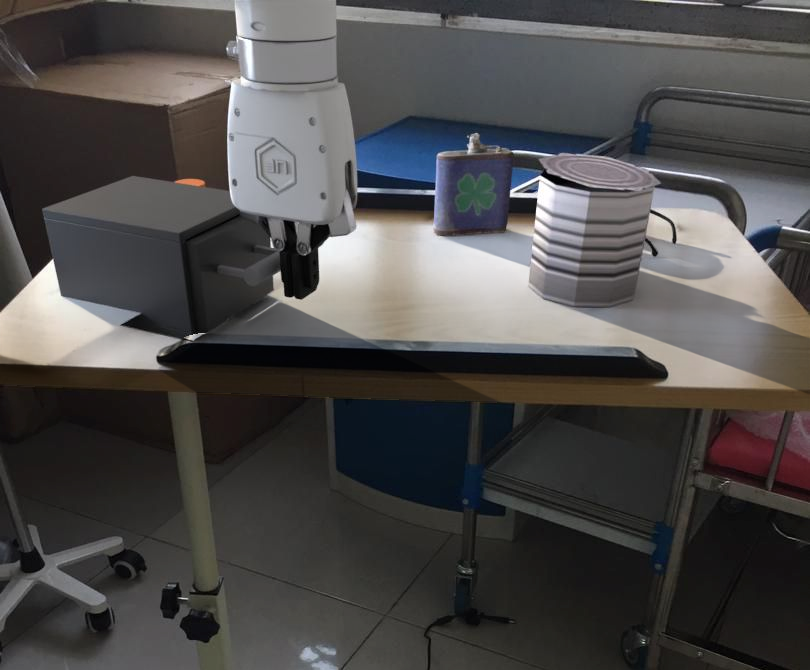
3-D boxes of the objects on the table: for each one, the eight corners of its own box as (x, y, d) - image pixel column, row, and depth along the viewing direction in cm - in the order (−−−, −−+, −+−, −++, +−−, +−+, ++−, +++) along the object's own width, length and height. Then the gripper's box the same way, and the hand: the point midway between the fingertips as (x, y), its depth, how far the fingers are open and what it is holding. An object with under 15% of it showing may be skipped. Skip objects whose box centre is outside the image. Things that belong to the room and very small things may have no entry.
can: (558, 260, 98) (573, 145, 91) (655, 284, 93) (679, 163, 86) (506, 290, 91) (518, 166, 84) (608, 317, 85) (630, 188, 78)
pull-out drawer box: (313, 298, 86) (309, 215, 81) (249, 341, 77) (241, 252, 73) (160, 268, 91) (149, 189, 87) (86, 305, 83) (69, 220, 78)
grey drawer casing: (267, 295, 88) (260, 195, 83) (193, 341, 79) (179, 233, 73) (147, 271, 93) (132, 175, 87) (64, 312, 84) (41, 208, 78)
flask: (436, 237, 104) (440, 139, 98) (429, 229, 106) (433, 133, 100) (510, 232, 106) (519, 136, 100) (501, 225, 108) (510, 130, 102)
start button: (194, 204, 100) (192, 188, 99) (168, 200, 101) (166, 184, 100) (212, 196, 103) (211, 181, 102) (187, 192, 104) (185, 177, 103)
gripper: (179, 61, 68) (206, 293, 79) (353, 79, 63) (356, 323, 74) (233, 48, 73) (252, 267, 84) (397, 64, 69) (394, 293, 80)
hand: (301, 293), depth 79 cm, fingers closed
